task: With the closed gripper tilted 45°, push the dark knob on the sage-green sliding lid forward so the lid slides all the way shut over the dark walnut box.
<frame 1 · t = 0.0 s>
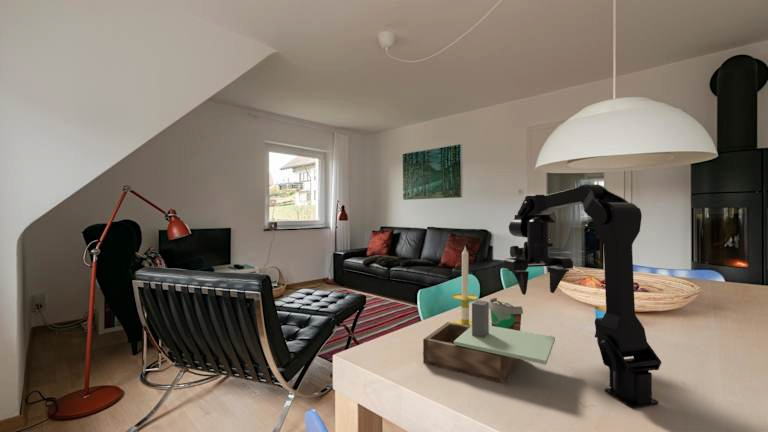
hand: (538, 293, 96), 15 cm above the table, tool pointing down, fingers open, 9 cm apart
lid: (505, 324, 81), point 11 cm above the table, slide at 8.0 cm
food container: (500, 335, 104), on the table
candle: (465, 326, 112), on the table
walnut box: (472, 360, 86), on the table
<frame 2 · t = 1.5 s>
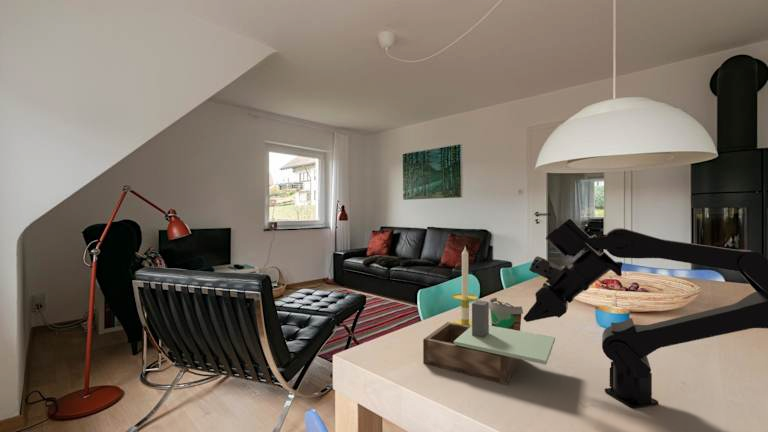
hand: (527, 316, 79), 13 cm above the table, tool tilted 45°, fingers open, 7 cm apart
nothing on the table moved.
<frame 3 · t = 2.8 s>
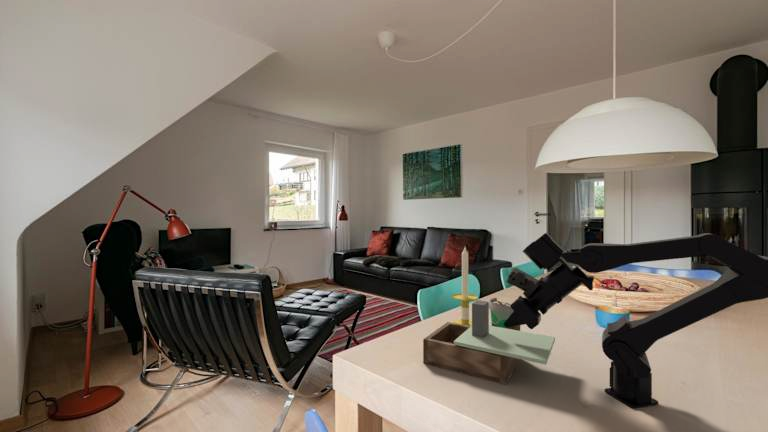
hand: (504, 325, 81), 10 cm above the table, tool tilted 45°, fingers closed
nothing on the table moved.
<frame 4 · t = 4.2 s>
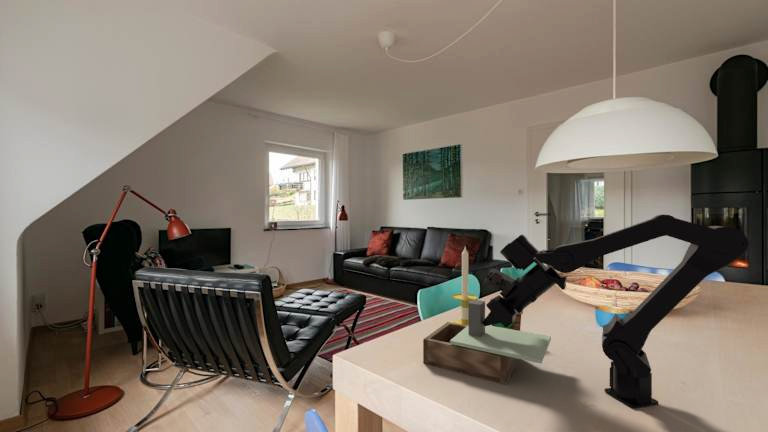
hand: (483, 324, 84), 10 cm above the table, tool tilted 45°, fingers closed, pressing on lid
lid: (501, 323, 82), point 11 cm above the table, slide at 7.1 cm, touching gripper
everything else where it was.
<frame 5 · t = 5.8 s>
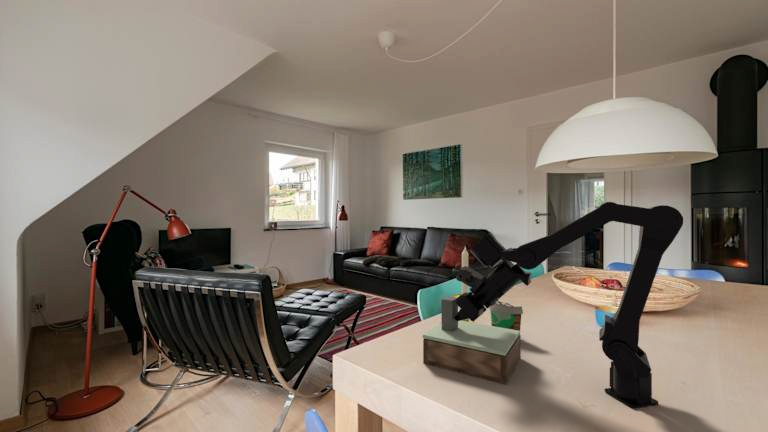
hand: (456, 319, 88), 10 cm above the table, tool tilted 45°, fingers closed, pressing on lid
lid: (472, 318, 86), point 11 cm above the table, slide at -0.1 cm, touching gripper
everything else where it was.
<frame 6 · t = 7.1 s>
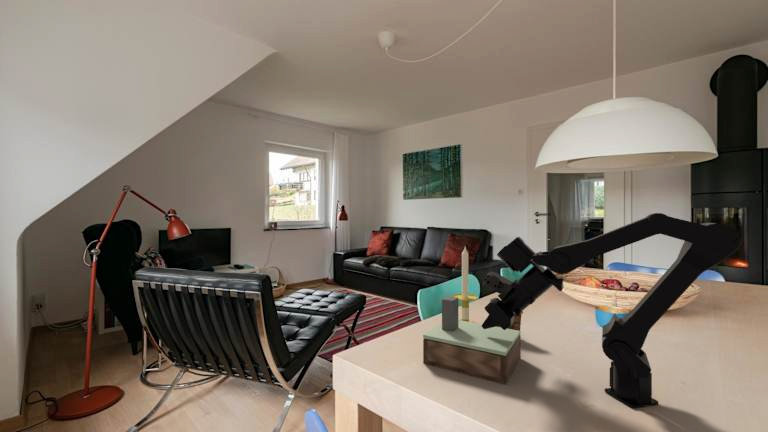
hand: (483, 327, 84), 9 cm above the table, tool tilted 45°, fingers closed
lid: (472, 318, 86), point 11 cm above the table, slide at 0.0 cm
everything else where it was.
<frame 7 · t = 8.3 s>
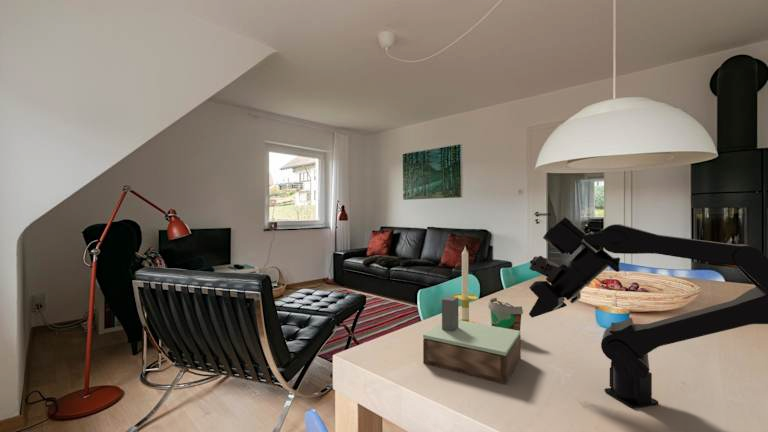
hand: (530, 315, 79), 13 cm above the table, tool tilted 40°, fingers closed
nothing on the table moved.
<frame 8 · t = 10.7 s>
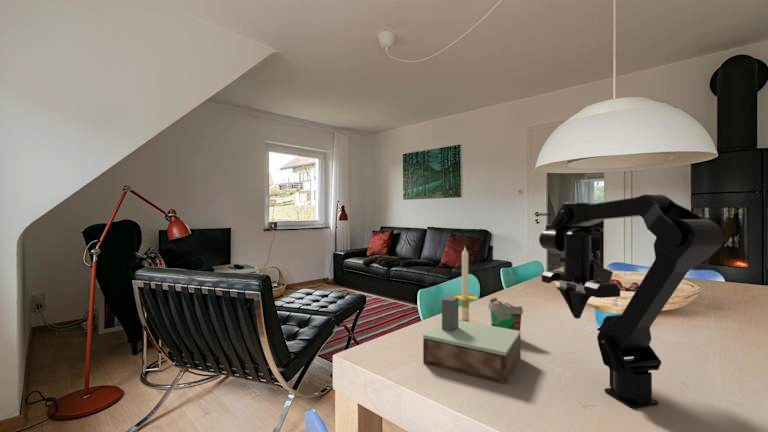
hand: (577, 318, 82), 12 cm above the table, tool pointing down, fingers closed
nothing on the table moved.
at the end: lid slide at 0.0 cm; food container moved 0.2 cm from its start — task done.
